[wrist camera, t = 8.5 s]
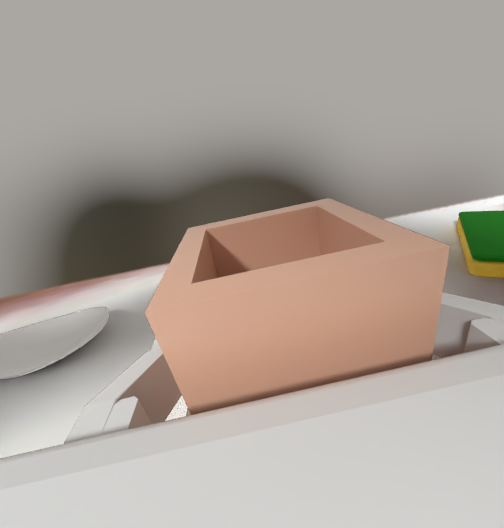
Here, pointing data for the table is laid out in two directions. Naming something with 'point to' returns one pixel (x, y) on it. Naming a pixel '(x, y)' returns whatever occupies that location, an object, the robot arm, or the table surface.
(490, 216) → the dish sponge
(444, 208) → the table surface
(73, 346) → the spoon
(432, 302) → the sleeve
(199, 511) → the robot arm
